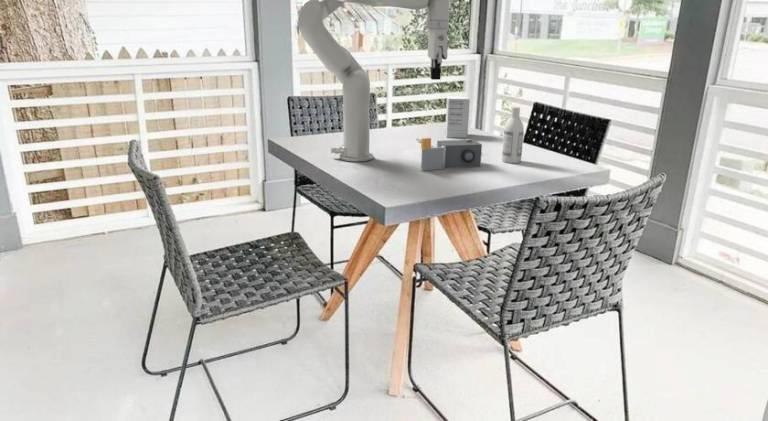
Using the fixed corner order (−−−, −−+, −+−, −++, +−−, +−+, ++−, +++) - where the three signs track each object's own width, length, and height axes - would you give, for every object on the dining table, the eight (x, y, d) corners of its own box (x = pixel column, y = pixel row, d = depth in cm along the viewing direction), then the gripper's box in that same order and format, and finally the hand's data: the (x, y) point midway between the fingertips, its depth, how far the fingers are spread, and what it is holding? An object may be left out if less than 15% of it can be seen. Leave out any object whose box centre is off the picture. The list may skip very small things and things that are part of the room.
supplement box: (467, 138, 257) (470, 99, 251) (446, 137, 257) (448, 98, 251) (465, 133, 266) (467, 95, 260) (444, 133, 266) (446, 95, 260)
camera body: (443, 169, 207) (444, 145, 204) (436, 162, 216) (437, 139, 213) (481, 167, 209) (483, 143, 206) (473, 161, 218) (474, 138, 215)
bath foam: (518, 159, 222) (523, 105, 215) (522, 163, 215) (527, 108, 209) (500, 158, 222) (504, 105, 215) (503, 163, 215) (508, 108, 209)
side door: (445, 168, 207) (447, 137, 203) (422, 171, 203) (423, 139, 200) (443, 168, 208) (445, 136, 204) (420, 170, 204) (421, 138, 201)
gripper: (454, 26, 199) (451, 81, 205) (442, 25, 213) (440, 76, 219) (432, 26, 198) (430, 81, 204) (422, 24, 212) (420, 77, 218)
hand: (435, 79), depth 212 cm, fingers closed
